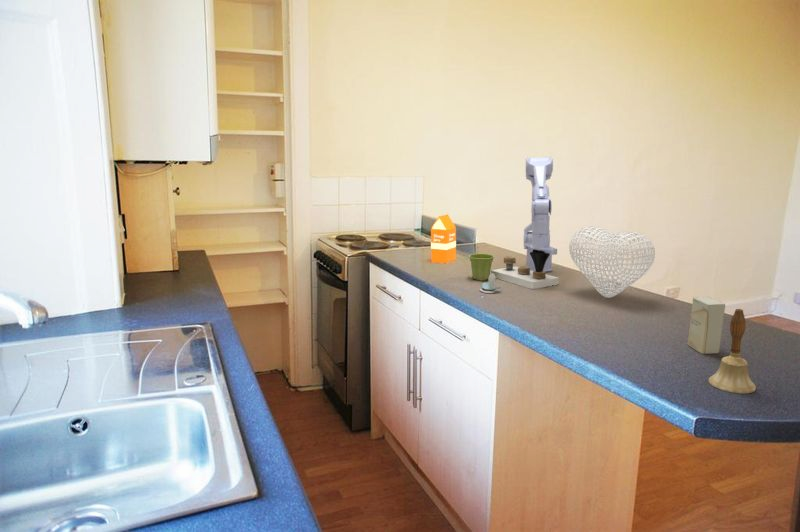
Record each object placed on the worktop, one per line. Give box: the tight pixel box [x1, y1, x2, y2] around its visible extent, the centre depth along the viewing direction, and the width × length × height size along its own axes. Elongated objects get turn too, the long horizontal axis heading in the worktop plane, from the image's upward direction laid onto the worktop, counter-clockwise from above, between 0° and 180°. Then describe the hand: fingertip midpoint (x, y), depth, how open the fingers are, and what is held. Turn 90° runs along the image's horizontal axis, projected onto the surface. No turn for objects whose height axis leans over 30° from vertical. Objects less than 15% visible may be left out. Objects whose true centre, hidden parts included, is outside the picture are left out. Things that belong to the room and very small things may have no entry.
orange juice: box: [430, 213, 457, 264], centre depth 238 cm, size 8×9×20 cm
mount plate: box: [490, 266, 560, 290], centre depth 202 cm, size 12×23×2 cm, turn 29°
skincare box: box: [687, 296, 726, 355], centre depth 130 cm, size 6×4×12 cm
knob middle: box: [518, 265, 530, 275], centre depth 202 cm, size 4×4×5 cm
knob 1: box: [503, 255, 517, 270], centre depth 208 cm, size 4×4×5 cm
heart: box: [568, 225, 656, 299], centre depth 175 cm, size 28×16×22 cm, turn 31°
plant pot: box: [468, 253, 495, 281], centre depth 206 cm, size 9×9×9 cm
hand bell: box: [708, 308, 757, 395], centre depth 110 cm, size 8×8×16 cm
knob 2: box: [533, 271, 546, 279], centre depth 195 cm, size 4×4×5 cm
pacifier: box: [479, 273, 501, 294], centre depth 187 cm, size 7×6×6 cm
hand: (539, 271), depth 194 cm, fingers closed, pressing on knob 2
